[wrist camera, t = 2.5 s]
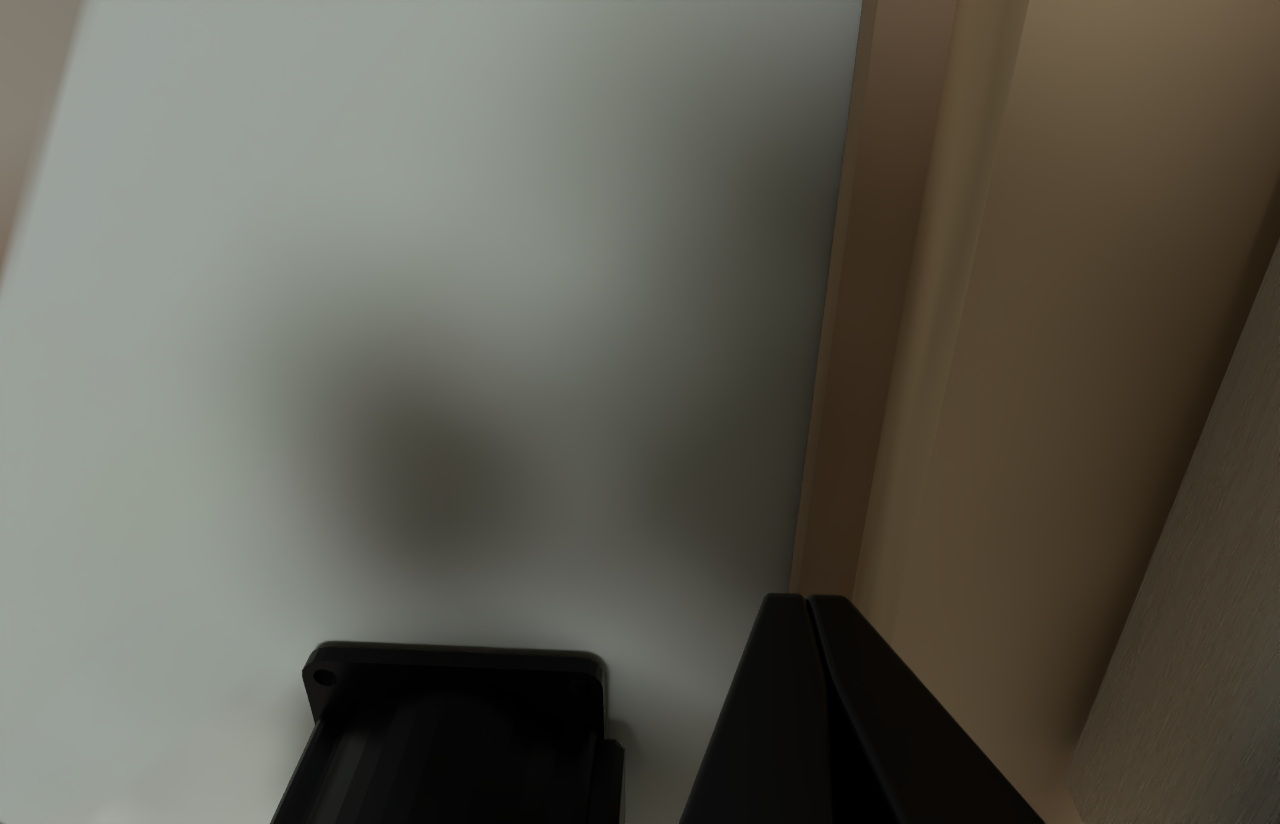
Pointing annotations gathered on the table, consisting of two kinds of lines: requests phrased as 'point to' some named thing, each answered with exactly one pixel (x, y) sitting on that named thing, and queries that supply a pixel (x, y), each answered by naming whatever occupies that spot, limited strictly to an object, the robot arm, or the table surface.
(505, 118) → the table surface
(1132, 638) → the lock bar
